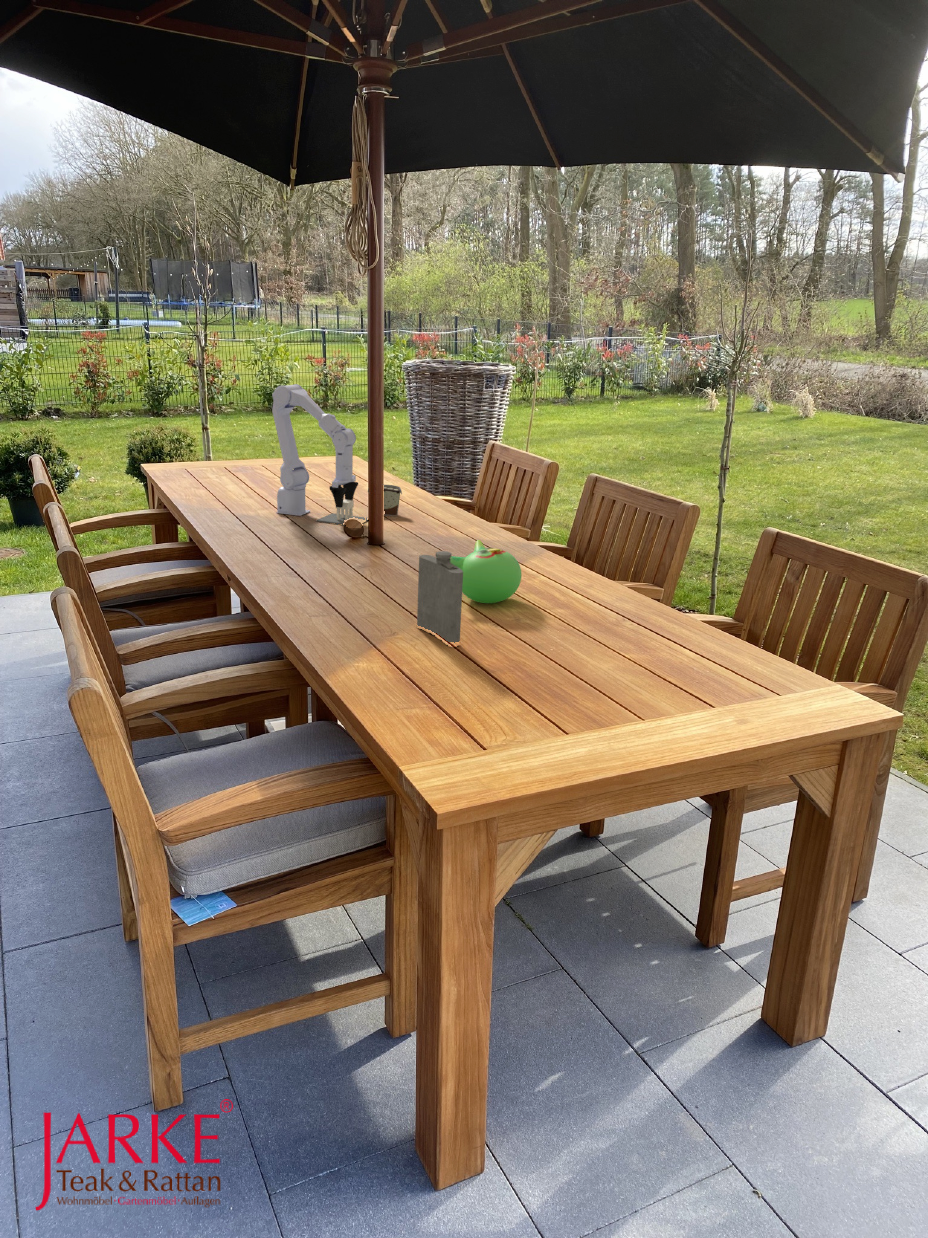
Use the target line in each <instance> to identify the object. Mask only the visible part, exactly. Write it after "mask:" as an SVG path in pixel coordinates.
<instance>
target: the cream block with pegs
mask: <svg viewBox="0 0 928 1238" xmlns="http://www.w3.org/2000/svg"><path fill="white" fill-rule="evenodd" d="M354 502H355V501H354V499H353V500H345V498H344V499H343V506H342V507H336V506H335V509H336V514H337V520H340V514H341V518H344V515H345V520H347V519H349V518H353V516H354V515H353V511H354V509H353V508H354V506H355V505H354Z"/></svg>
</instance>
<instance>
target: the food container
mask: <svg viewBox="0 0 928 1238" xmlns="http://www.w3.org/2000/svg"><path fill="white" fill-rule="evenodd" d="M383 485H384V511H385V515H384V516H391V517H398V515H399V514H398V513H399V506H400V498H401V495H403V492H402V488H401V487H400V486H399V485H394V484H393V485H392V484H383ZM367 493H370V492H369V487H368V488H367Z"/></svg>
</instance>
